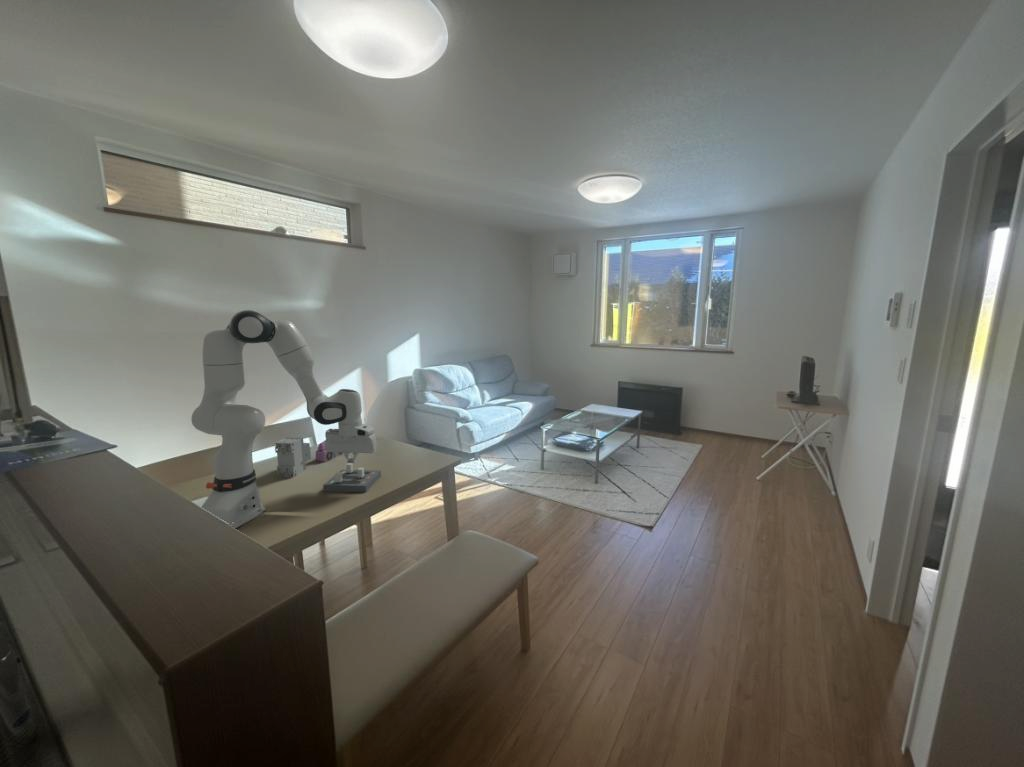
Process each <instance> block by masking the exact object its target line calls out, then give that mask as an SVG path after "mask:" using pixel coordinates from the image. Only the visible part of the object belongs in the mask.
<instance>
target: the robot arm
mask: <svg viewBox="0 0 1024 767" xmlns="http://www.w3.org/2000/svg"><path fill="white" fill-rule="evenodd" d="M260 343H266V344H267V345H269V346H270V348H271V349H272V351H273V353H274V355H275V356H276V358H277V360H278V361H279V363H280V364H281V366H282V367H283V368H284V370H285V371H286V372H288V374H289V375H290V376H291V377H292V378H293V379H294V380H295V381H296V383H297V385H298V386H299V388H300V390H301V392H302V393H303V395H304V397H305V401H306V411H307V414H308V415H309V417H311V419H313V420H315V422H317V423H318V424H320V425H324V426H329V425H333V424H337V423H338V428H329V429H327V430H326V431H325V434H324V435H325V440H326V442H325V450H326V451H327V452H344V454H343V456H344V457H345V459H346V464H348V463H353V464H356V463H357V457H358V456H359V454H375V452H376V451H377V450H378V441H377V436H376V435H375V428H374V427H373V426H370V425H368V424H364V423H363V420H362V417H361V416H362V410H363V409H362V407H363V406H362V399H361V395H360V393H359V392H358V391H357V390H354V389H348V388H341V389H338V391H337V392H335V393H334V394H332V395H330V396H327V395H326V394H325V393H323V391H322V389H321V387H320V385H319V384H318V381H317V380H316V377H315V376H314V373H313V369H314V368H313V366H314V364H315V363H314V362H315V361H314V356H313V354H312V351H311V348H310V347H309V344H308V343H307V340H306V339H305V337H304V336H303V335H302V333H301V332H300V329H298V328H297V326H296V325H295V324H294V323H293V322H292V321H291V320H287V319H280V320H276V321H272V320H270V319H269V318H267V317H266V316H265V315H263V314H262V313H260V312H257V311H254V310H252V309H251V310H250V309H246V310H244V309H243V310H241V311H238V312H236V313H235V314H234V315H233V316H232V318H231V319H230V322H229V323H228V325H227V326H226V328H225V329H218V330H213V331H210V332H208V333H207V334H205V335H204V338H203V344H202V366H203V368H202V369H203V375H204V376H203V378H204V388H203V389H204V390H203V395H202V399H201V402H200V403H199V406H197V407H196V408H195V409H194V411H193V412H192V414H191V418H190V419H191V424H192V426H193V427H194V428H195V429H196V430H197V431H200V432H202V433H204V434H208V435H215V436H221V438H222V440H221V441H222V442H221V445H220V448H219V449H218V450H216V451H215V452H214V454H213V465H214V466H213V467H214V472H215V474H214V475H215V476H214V477H213V482H206V485H205V488H206V489H212V491H211V492H210V494H209V495H208V497H207V499H206V500H205V501H204V503H203V504H202V505H201V507H202V508H204V509H205V510H207V511H209V512H211V513H212V514H214V515H215V516H217V517H219V518H220V519H222V520H224V521H226V522H227V523H229V524H230V525H232V526H233V527H234V528H235V529H237V528H239V527H241V526H242V525H244V524H246V523H248V522H250V521H251V520H253V519H254V518H257V517H259V516H260V515H262V514H264V513H265V512H266V507H265V506H263V505H264V504H263V501H262V497H261V492H260V489H259V487H258V486H257V482H256V480H257V474H256V470H255V469H254V463H253V460H254V459H253V446H254V443H255V440H256V438H257V436H258V435H259V434H261V433H262V431H263V430H264V428H265V425H266V416H265V414H264V412H263V411H262V410H261V409H259V408H256V407H254V406H251V405H246V404H238V403H237V404H236V400H237V399H236V397H237V395H238V393H239V391H241V390H242V389H243V388H244V387H245V383H246V382H245V381H246V380H245V372H244V371H245V370H244V360H243V358H244V357H243V349H244V347H245V345H247V344H260ZM350 454H352V456H353V457H351V456H350ZM232 522H235V523H234V524H232Z"/></svg>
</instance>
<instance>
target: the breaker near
mask: <svg viewBox="0 0 1024 767" xmlns="http://www.w3.org/2000/svg"><path fill="white" fill-rule="evenodd" d="M334 476H335V480H336V482H341V481H342V472H340V471H336V472H335V473H334Z"/></svg>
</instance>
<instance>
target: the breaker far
mask: <svg viewBox="0 0 1024 767" xmlns="http://www.w3.org/2000/svg"><path fill="white" fill-rule="evenodd" d="M345 467H346V470H347V473H351V472H353V470H354V463H346V466H345Z"/></svg>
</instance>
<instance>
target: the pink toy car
mask: <svg viewBox="0 0 1024 767" xmlns="http://www.w3.org/2000/svg"><path fill="white" fill-rule="evenodd" d="M325 442H326V439H325V440H323V441H321V442H320V443H319V444H318V447H317V450H316V451H315V460H316V462H320V463H321V462H323V463H326V462H328V461H330V460H334V459H336V458H338V457H340V456H342V455H344V454H343V453H344V452H327V451H326V450H325ZM341 454H342V455H341ZM339 455H340V456H339ZM337 456H338V457H337ZM335 457H336V458H335ZM333 458H334V459H333Z"/></svg>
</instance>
